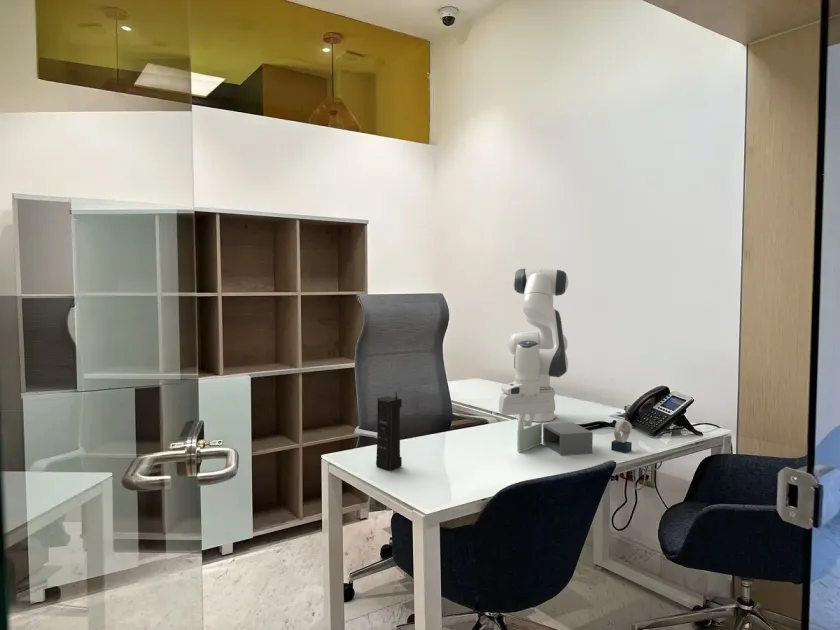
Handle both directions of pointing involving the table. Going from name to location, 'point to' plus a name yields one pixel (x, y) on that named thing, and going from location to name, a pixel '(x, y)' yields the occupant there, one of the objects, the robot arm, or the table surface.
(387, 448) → the portable radio
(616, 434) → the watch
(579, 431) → the case
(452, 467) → the table surface
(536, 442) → the side door
